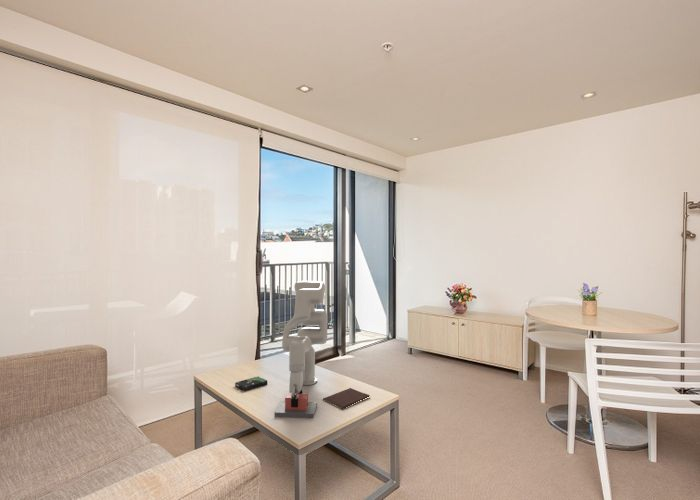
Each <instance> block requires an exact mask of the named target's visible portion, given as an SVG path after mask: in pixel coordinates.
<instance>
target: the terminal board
mask: <svg viewBox="0 0 700 500" xmlns="http://www.w3.org/2000/svg"><path fill="white" fill-rule="evenodd" d="M317 408H318V402H317V401H316V402H314V401H313V402H310V401H308V406H307V409H306V410H289V409H285V400H283V401H280V403H279V405H278V406H277V408H276V409H275V411H274V417H276V418H296V419H299V418H300V419H302V418H303V419H314V418H315V414H316V412H317Z"/></svg>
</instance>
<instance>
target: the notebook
mask: <svg viewBox="0 0 700 500" xmlns="http://www.w3.org/2000/svg"><path fill="white" fill-rule="evenodd" d="M369 396H370V394H368V393H364V392H361V391H359V390H356V389H354V388H351V387H349V388H346V389H344V390H341V391H339V392H336V393H333V394H331V395H329V396H325V397H323V398H322V401H324V400H325V401H324V402H326V401H327V402H326V403H328V402H329V403H328V404H330V403H331V404H330V405H332V404H334V405H336V406H338V407H340V408H339V409H341V408H346V407H348V406H350V405H352V404H354V403H356V402H358V401H360V400H363V399H365V398H367V397H369ZM370 397H371V396H370ZM334 405H333V406H334ZM336 406H335V407H336ZM338 407H337V408H338ZM350 407H351V406H350ZM348 408H349V407H348ZM346 409H347V408H346Z"/></svg>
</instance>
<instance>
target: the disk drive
mask: <svg viewBox="0 0 700 500" xmlns="http://www.w3.org/2000/svg"><path fill="white" fill-rule="evenodd" d="M234 384H235V387H236V388H237V389H239V390H241V391H243V392H247V391H251V390H253V389H257V388H261V387H265V386H268V380H266V379H265V378H263V377H260V376H254V377H251V378H247V379H243V380H239V381H236V382H234Z"/></svg>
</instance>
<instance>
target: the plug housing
mask: <svg viewBox="0 0 700 500" xmlns="http://www.w3.org/2000/svg"><path fill="white" fill-rule="evenodd" d="M295 395H296V394H295ZM291 396H292V392H291V393H289V392H288V393H286V396H285V398H284V401H285V409H289V410H306V409H307V406H308V402H309V394H308V393H302V394H298V407H291Z"/></svg>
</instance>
